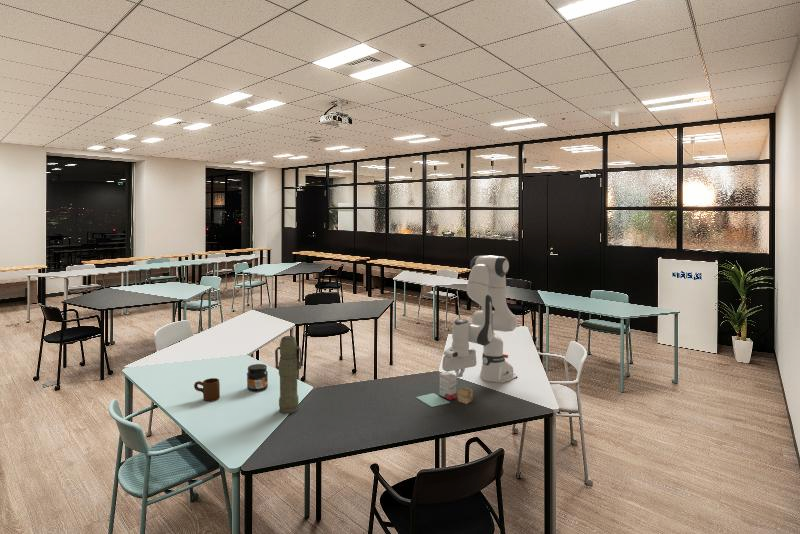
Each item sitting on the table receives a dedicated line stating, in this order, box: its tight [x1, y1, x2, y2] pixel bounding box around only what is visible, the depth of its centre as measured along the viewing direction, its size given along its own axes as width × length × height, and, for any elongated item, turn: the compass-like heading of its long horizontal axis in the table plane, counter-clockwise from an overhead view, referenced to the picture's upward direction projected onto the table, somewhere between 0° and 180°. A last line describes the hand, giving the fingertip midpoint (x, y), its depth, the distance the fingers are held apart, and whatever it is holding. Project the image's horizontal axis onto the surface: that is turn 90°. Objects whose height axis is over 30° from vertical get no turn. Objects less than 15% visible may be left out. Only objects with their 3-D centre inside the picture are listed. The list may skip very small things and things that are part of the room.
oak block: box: [457, 386, 473, 405], centre depth 228 cm, size 5×5×6 cm
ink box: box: [439, 371, 458, 401], centre depth 233 cm, size 9×5×12 cm, turn 34°
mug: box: [193, 377, 221, 403], centre depth 226 cm, size 12×8×9 cm, turn 96°
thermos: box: [274, 335, 302, 415], centre depth 213 cm, size 9×12×35 cm
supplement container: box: [246, 363, 269, 393], centre depth 241 cm, size 10×10×12 cm
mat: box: [415, 392, 451, 408], centre depth 229 cm, size 11×14×1 cm
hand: (459, 376), depth 237 cm, fingers closed
